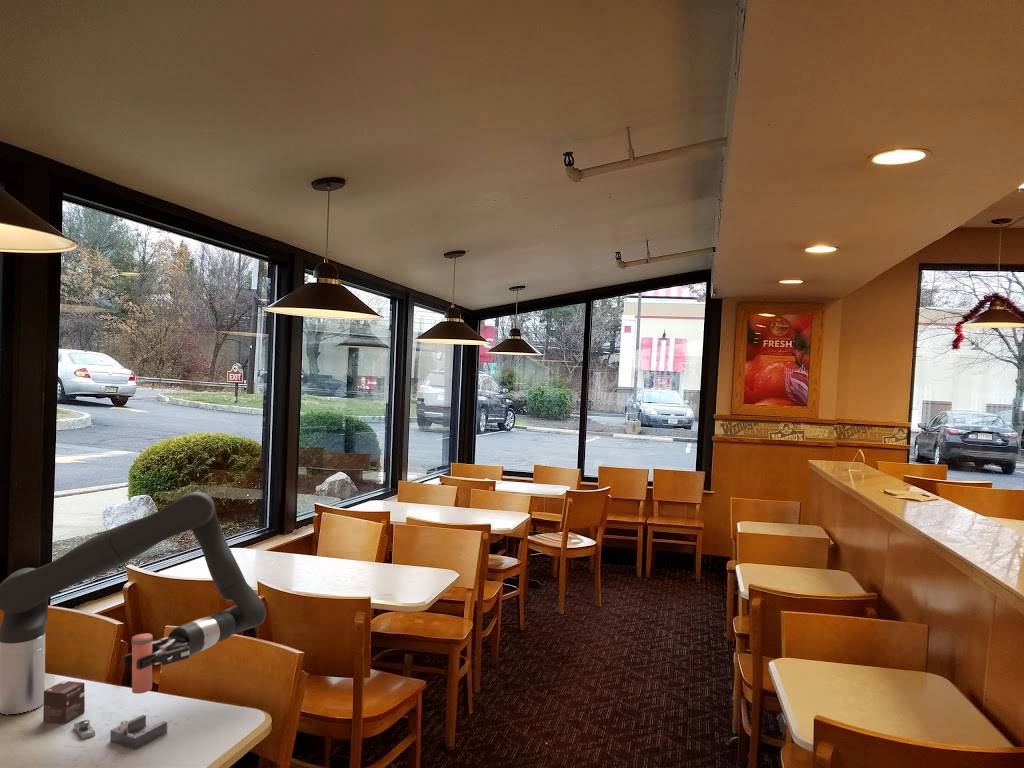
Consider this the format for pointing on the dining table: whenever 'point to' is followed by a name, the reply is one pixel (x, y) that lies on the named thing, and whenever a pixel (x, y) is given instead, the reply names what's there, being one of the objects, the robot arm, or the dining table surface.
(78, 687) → the box
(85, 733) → the plate
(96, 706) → the dining table surface
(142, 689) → the post
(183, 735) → the dining table surface
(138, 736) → the bracket
